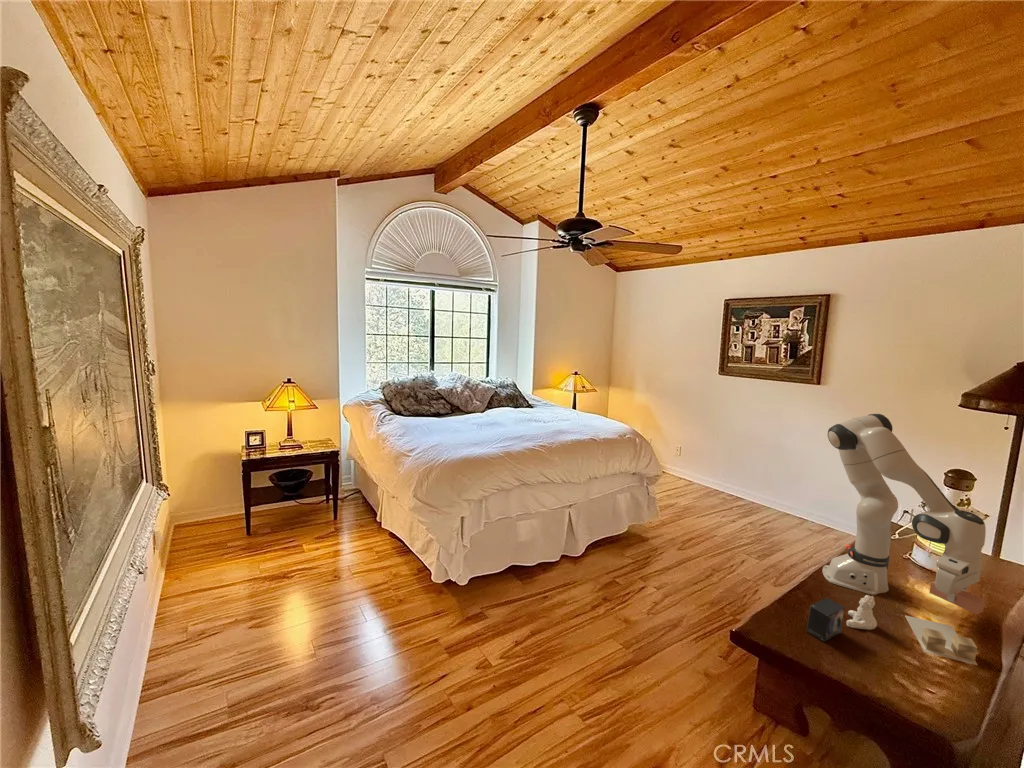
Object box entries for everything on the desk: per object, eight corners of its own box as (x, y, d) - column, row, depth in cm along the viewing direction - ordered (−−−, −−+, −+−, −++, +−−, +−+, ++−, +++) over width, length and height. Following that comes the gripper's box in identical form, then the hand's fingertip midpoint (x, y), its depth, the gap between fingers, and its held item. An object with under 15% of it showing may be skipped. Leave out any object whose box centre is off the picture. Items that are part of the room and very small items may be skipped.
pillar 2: (956, 656, 151) (958, 643, 150) (950, 647, 155) (953, 634, 154) (974, 661, 149) (977, 647, 148) (968, 652, 153) (971, 638, 152)
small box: (824, 643, 158) (828, 616, 156) (805, 631, 164) (808, 605, 162) (842, 633, 163) (845, 606, 161) (822, 622, 168) (826, 596, 167)
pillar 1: (926, 649, 155) (928, 635, 154) (921, 640, 159) (923, 627, 158) (943, 653, 153) (946, 640, 152) (938, 644, 157) (940, 631, 156)
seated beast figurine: (847, 613, 174) (851, 584, 172) (876, 622, 168) (881, 593, 166) (845, 626, 166) (849, 596, 164) (876, 637, 161) (880, 606, 159)
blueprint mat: (924, 652, 154) (924, 651, 153) (904, 616, 172) (904, 615, 172) (978, 666, 148) (978, 665, 148) (951, 627, 166) (951, 625, 166)
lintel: (976, 614, 148) (978, 603, 147) (929, 592, 159) (931, 582, 159) (983, 611, 150) (985, 599, 149) (935, 589, 161) (937, 579, 160)
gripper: (965, 549, 159) (959, 585, 161) (933, 562, 151) (927, 600, 153) (990, 557, 154) (983, 595, 156) (958, 572, 145) (951, 611, 147)
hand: (955, 598), depth 154 cm, fingers closed on lintel, 4 cm apart
